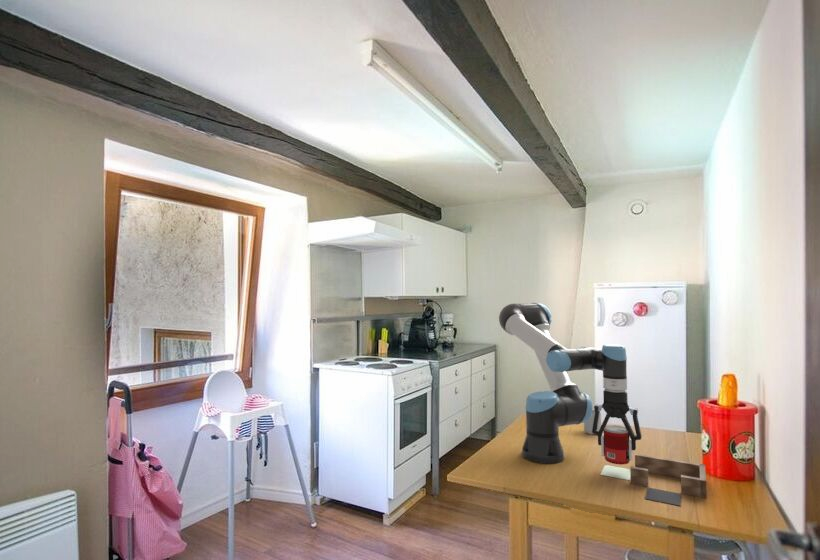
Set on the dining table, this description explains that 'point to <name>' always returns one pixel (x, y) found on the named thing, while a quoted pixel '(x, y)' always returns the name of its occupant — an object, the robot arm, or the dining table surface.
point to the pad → (616, 472)
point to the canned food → (616, 444)
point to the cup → (589, 424)
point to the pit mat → (663, 496)
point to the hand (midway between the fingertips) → (616, 457)
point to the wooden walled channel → (670, 473)
